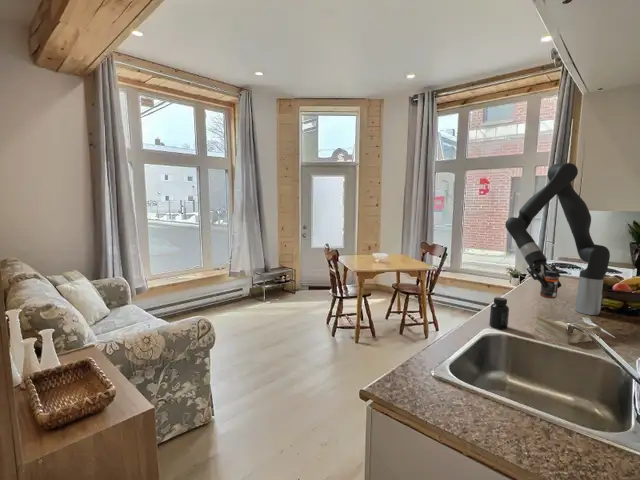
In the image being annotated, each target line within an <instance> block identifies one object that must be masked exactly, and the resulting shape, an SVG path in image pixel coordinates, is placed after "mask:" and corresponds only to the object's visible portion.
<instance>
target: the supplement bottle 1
mask: <svg viewBox="0 0 640 480" xmlns="http://www.w3.org/2000/svg"><path fill="white" fill-rule="evenodd" d="M489 311H490V312H489V323H488V324H489V326H490V327H491V328H493V329H496V330H497V329H498V330H506V329H508V326H509V315H510V307H509V306H508V299H507V298H504V297H499V296H498V297H493V303H492V304H491V305H490V309H489Z"/></svg>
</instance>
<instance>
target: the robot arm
mask: <svg viewBox="0 0 640 480" xmlns="http://www.w3.org/2000/svg"><path fill="white" fill-rule="evenodd" d="M578 174H579V169H578V167H577V165H576V164H574V163H570V162H564V163H563V162H561V163H556V164H554V163H553V165H551V166H550V167H548V170H547V178H548V180H549V182H548V183H547V184H546V185H545V186H544V187H543V188H541V190H539V191H537V192H536V193H535V194H534V195H532V196H531V197H530V198H529V199H528V200H526V202H525V203H524V205H523V206H522V207H521V208H520V210H518V216H517V217H514V216H513V217H509V218H508V219H507V220H506V221H505V229H506V231H507V232H508V233H509V235H510V236H511V238H512V239H513V241H514V242H515V244H516V246H517V247H518V250H519V251H520V253H521V256H522V257H523V259H524V260H525V262H526V264H527V266H528V267H527V268H526V271H527V272H528V274H529V275H530V277H531V278H532V279H533V280H534V281H538V282H540V284H541V285H542V286H543V287H544V288H545V289H546V288H548V287H549V285H548V283H547V281H546V280H545V279H544V275H545V272H546V271H555V272H557V275H556V276H557V277H558V278H560V277H561V274H560V273H559V271H558V269H557V266H556V265H554V264H553V265H550V264H548V263H547V261H548V260H547V257H546V255H545V254H544V253H543V251H542V250H541V248H540V247H539V245H538V244H537V243H536V242H535V239H534V238H533V237H532V235H530V233H529V232H528V228H529V226H530V225H531V223H532V221H533V220H534V218H535V217H536V216H537V215H538V214H539V213H540V212H541V211H542V209H544V207H545V206H546V205H547V204H548V203H549V202H550V201H551V200H552V199H553V198H554V197H555V196H557V197H558V200H559V204H560V206H561V208H562V212H563V215H564V216H565V219H566V222H567V224H568V226H569V229H570V231H571V233H572V236H573V240H574V243H575V247H576V251H577V254H578V257H579V259H581V261H583V262H585V263H587V265H586V268H584V269H581V270H579V271H580V272H579V277H578V282H577V283H578V285H577V292H576V299H575V308H574V311H575V312H578V313H580V314H585V315H588V316H590V315H591V316H598V315H599V314H601V308H602V302H603V301H602V300H603V294H602V293H603V285H604V278H605V276H606V274H607V272H608V268H609V263H610V257H611V254H610V250H609V248H608V247H606V246H604V245H600V244H595V243H594V241H593V238H592V236H591V233H590V228H591V224H592V216H591V213H590V211H589V208H588V206H587V203H586V202H585V200H583V198H582V197H581V196H580V195H579V194H578V193H577V192H576V191H575V189H574V187H573V186H572V185H573V184H572V182H573V181H574V180H575V179H576V178H577V176H578ZM561 287H562V283H561V282H560V280H559V281H558V289H559V288H561Z"/></svg>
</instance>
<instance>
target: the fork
mask: <svg viewBox="0 0 640 480" xmlns="http://www.w3.org/2000/svg"><path fill="white" fill-rule="evenodd" d="M582 320H583V322H584V323H585V324H588V325H590V326H598V324H595V323H593V321H592V320H591V319H590V318H589V317H585V316H584V317H583V316H582ZM601 331H602V332H603V333H605V334H607V335H609V336H610V337H612V338H615V339H617V338H616V337H615V336H614V335H613V334H611V333H609V332H608V331H606V330H605V329H603V328H602V327H601ZM601 331H600V332H601Z"/></svg>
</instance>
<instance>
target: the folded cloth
mask: <svg viewBox="0 0 640 480" xmlns="http://www.w3.org/2000/svg"><path fill="white" fill-rule="evenodd" d="M567 323H572V322H570V321H569V320H566V319H565V320H555V321H550V320H547V319H546V318H543V317H539V316H537V317H536V320H535V327H534V331H537V332H539V333H541V334H544V335H546V336H549V337H550V338H552V339H555V340H558V342H559V341H560V342H562V343H564V344H567V345H570V344H571V343H572V344H579V343H578V342H581V343H587V342H586V341H590V339H589V338H588V337H587V336H586V335H584V334H583V333H581V332H580V331H578V330H576V329H574V330H573V333H572V334H570V333H568V330H567ZM583 327H584V328H586V329H588V330H589V331H591V332H593V333H594V334H596V335H597V336H599V337H600V336H601V328H602V327H601V326H599V325H597V326H593V325H591V326H583ZM600 338H601V337H600Z"/></svg>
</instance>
